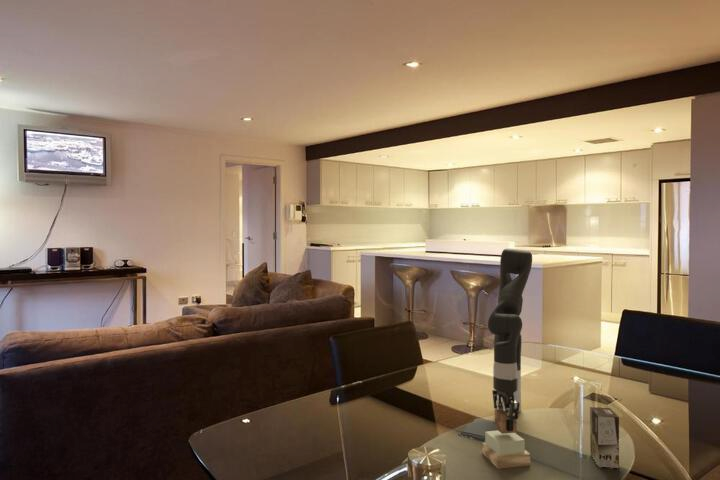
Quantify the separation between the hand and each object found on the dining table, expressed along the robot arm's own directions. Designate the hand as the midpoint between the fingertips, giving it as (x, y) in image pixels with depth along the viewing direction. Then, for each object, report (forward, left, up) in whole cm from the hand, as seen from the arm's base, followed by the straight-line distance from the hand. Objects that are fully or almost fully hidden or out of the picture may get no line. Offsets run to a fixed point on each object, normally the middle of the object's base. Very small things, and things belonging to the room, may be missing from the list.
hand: (505, 427), depth 154 cm
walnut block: (0, 0, -1) cm, 1 cm away
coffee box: (+8, +30, -11) cm, 33 cm away
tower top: (0, 0, -7) cm, 7 cm away
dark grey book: (-23, +4, -11) cm, 26 cm away
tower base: (0, 0, -11) cm, 11 cm away
